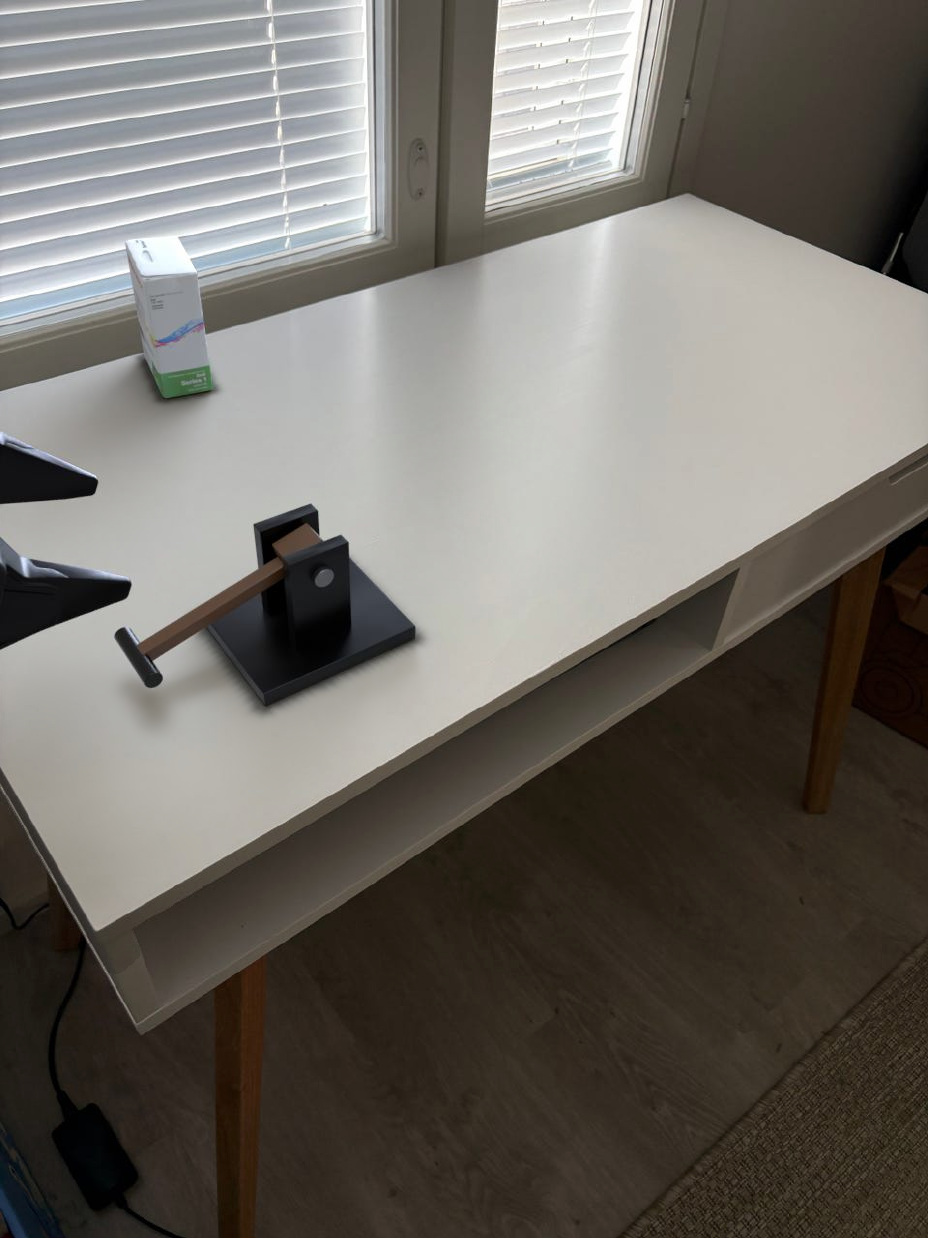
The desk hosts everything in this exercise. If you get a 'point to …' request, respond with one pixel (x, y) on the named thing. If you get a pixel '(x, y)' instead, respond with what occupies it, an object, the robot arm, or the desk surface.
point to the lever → (209, 609)
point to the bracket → (308, 615)
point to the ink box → (169, 315)
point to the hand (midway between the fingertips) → (112, 534)
